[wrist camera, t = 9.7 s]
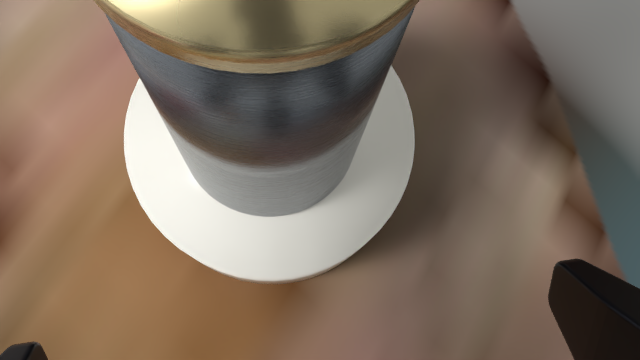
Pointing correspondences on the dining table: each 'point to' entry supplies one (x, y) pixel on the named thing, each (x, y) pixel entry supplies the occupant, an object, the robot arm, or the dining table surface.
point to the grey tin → (263, 88)
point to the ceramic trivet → (281, 231)
